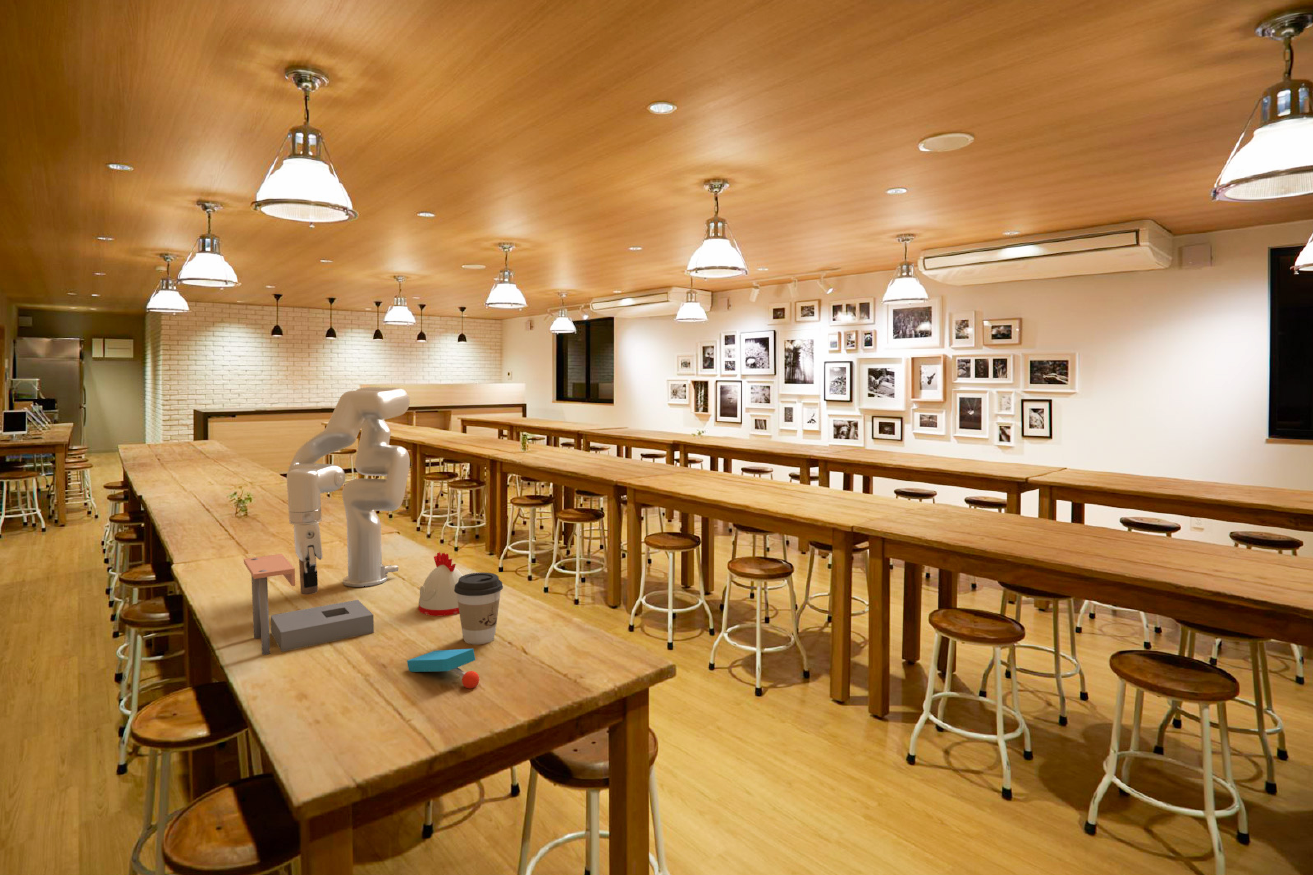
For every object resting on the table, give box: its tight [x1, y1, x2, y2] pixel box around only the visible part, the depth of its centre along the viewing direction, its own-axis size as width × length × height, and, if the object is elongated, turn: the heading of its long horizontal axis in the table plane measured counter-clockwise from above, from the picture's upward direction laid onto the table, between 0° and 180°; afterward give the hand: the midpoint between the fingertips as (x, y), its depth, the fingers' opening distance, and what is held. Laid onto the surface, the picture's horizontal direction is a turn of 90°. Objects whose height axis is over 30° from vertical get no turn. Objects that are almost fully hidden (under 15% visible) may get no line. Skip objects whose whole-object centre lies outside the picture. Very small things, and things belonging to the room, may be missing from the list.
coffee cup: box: [454, 571, 504, 646], centre depth 163 cm, size 11×11×15 cm
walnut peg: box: [298, 558, 319, 596], centre depth 179 cm, size 4×4×9 cm
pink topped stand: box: [243, 553, 296, 656], centre depth 158 cm, size 8×16×19 cm, turn 38°
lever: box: [406, 648, 480, 689], centre depth 142 cm, size 7×7×18 cm
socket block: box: [270, 599, 375, 652], centre depth 166 cm, size 20×14×4 cm
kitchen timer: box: [418, 551, 464, 617], centre depth 185 cm, size 14×14×15 cm
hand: (308, 583), depth 179 cm, fingers closed on walnut peg, 4 cm apart
